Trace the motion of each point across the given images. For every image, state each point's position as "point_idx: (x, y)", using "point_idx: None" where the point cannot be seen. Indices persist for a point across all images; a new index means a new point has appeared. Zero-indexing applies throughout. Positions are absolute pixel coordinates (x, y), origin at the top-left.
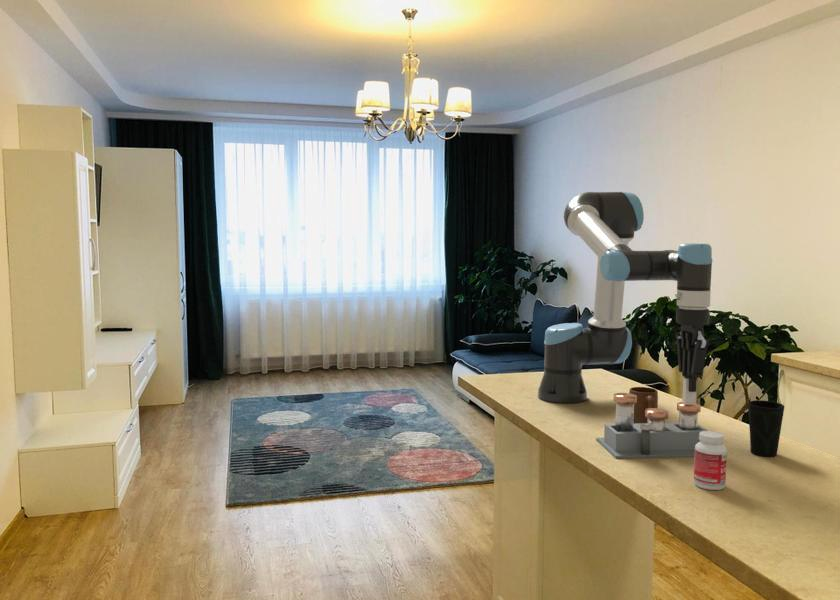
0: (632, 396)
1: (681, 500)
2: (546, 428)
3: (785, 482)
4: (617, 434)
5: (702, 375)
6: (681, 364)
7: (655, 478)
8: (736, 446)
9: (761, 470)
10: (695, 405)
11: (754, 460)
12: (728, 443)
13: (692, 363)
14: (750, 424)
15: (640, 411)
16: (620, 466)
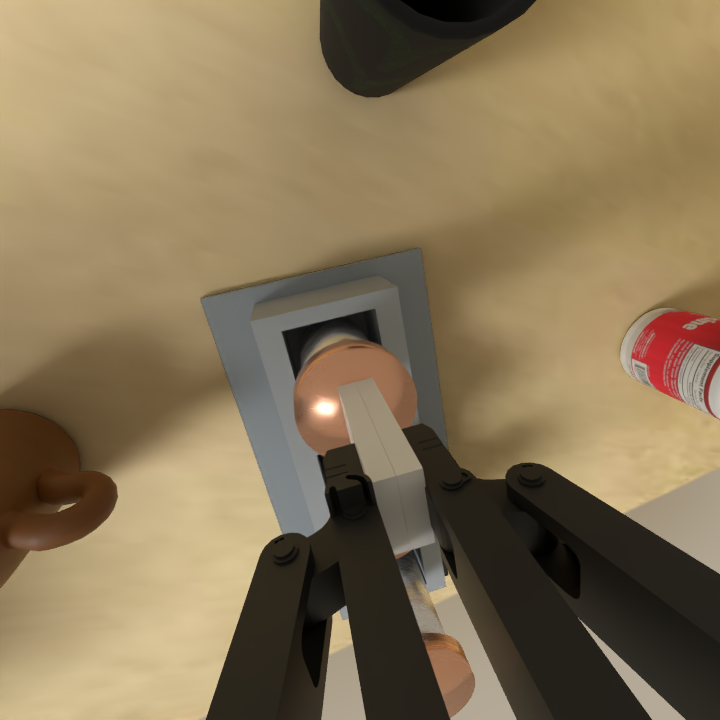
0: (443, 673)
1: (714, 418)
2: (208, 699)
3: (660, 103)
4: (444, 580)
5: (551, 470)
6: (321, 668)
7: (594, 457)
8: (285, 132)
9: (557, 141)
10: (373, 378)
11: (458, 123)
12: (246, 155)
13: (623, 650)
14: (411, 71)
15: (53, 511)
16: None
